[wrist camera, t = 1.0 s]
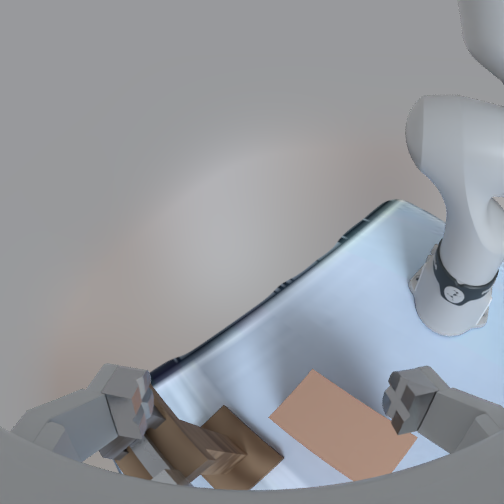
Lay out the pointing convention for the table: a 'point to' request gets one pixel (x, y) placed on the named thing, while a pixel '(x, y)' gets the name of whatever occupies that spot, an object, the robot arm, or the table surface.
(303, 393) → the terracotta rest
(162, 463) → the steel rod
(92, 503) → the robot arm
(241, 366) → the table surface
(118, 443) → the walnut shelf stand
